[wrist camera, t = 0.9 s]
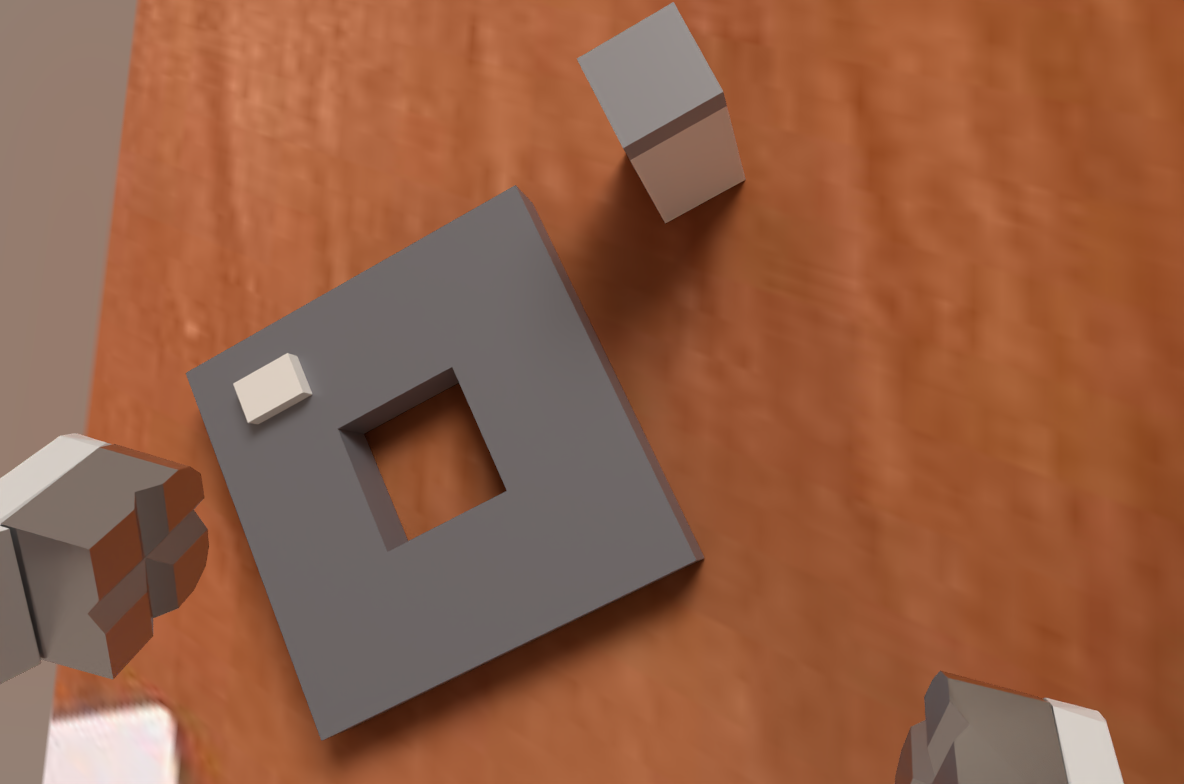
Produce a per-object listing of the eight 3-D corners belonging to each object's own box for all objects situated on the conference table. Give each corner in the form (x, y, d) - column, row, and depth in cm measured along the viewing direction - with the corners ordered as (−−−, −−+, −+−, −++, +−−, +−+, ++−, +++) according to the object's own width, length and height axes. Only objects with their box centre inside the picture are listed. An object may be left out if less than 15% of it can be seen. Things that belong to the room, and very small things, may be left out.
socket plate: (532, 203, 45) (509, 178, 42) (704, 558, 41) (693, 560, 38) (218, 380, 48) (174, 370, 44) (349, 728, 44) (311, 744, 40)
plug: (705, 106, 43) (673, 2, 35) (745, 179, 42) (723, 91, 34) (627, 150, 44) (576, 58, 35) (665, 223, 43) (623, 147, 34)
